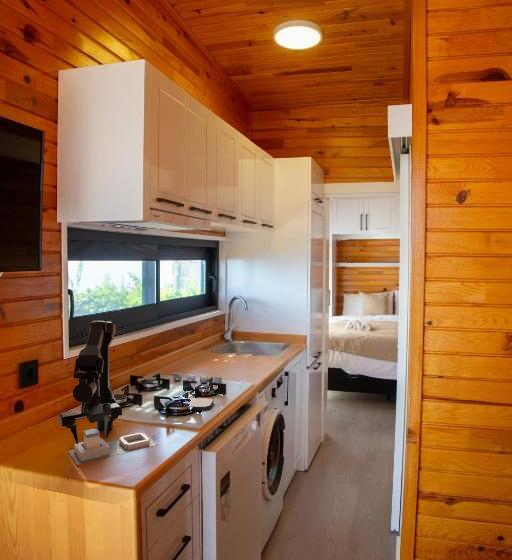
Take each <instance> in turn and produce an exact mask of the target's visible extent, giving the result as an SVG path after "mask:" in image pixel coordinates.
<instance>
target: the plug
mask: <svg viewBox="0 0 512 560" xmlns="http://www.w3.org/2000/svg"><path fill="white" fill-rule="evenodd" d="M94 428H95V427H94ZM94 428H91V429H86V430H83V442H84V449H85V450H88V449H92V448H97V447H100V438H101V435H100V434H101V432H100V430H97V429H96V428H95V429H94Z"/></svg>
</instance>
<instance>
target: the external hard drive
mask: <svg viewBox="0 0 512 560" xmlns="http://www.w3.org/2000/svg"><path fill="white" fill-rule="evenodd" d="M187 398H188V399H190V400H191V401H190V402H189V403H188V404H190V405H189V406H188V407H193V408H195V409H197V410H196V411H199V410H203V411H210V410H211V409H212V407H213V405H214V400H213V399H212V398H206V397H204V398H203V397H202V398H201V397H200V398H198V397H187Z"/></svg>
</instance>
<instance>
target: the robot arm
mask: <svg viewBox="0 0 512 560" xmlns="http://www.w3.org/2000/svg"><path fill="white" fill-rule="evenodd" d="M88 327H89V332H88V337H87V341H86V344H85V347H84V348H82V349H81V350H80V351H79V353H78V356H77V357H76V358H75V363H74V364H75V365H74V370H73V371H74V373H73V379H78V383H77V384H76V385H75V386H74V388H73V390H72V396H73V399H74V400H75V401H77V402H78V403H80V412H78V413H74V412H73V411H72V410H70V411H63V412H60V413H59V414H58V417H57V420H58V421H57V422H58V423H59V425H60V426H61V427H65V428H66V429H69V431H70V433H71V435H72V438H73V440H74V444H75V443H76V444H78V443H79V437H78V431H77V424H76V421H77V420H84V419H87V421H88V423H89V424H94V423H96V427H94V428H93V429H95V428H96V429H97V430H98V431H102V432H104V437H105V438H106V439H107V438H108V436H109V434H110V431H112V430H113V428H114V422H115V420H117V419H119V416H122V415H123V408H122V406H120V405H119V404H118V401H117V399H116V397H115V392H114V391H113V389H112V388H111V385H110V382H111V381H110V346H111V344H112V342H113V341H114V339H115V335H116V330H117V329H116V324H115V323H113V322H112V321H104V320H93V321H91V322H90V323H89V325H88Z"/></svg>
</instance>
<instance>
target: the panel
mask: <svg viewBox="0 0 512 560" xmlns="http://www.w3.org/2000/svg"><path fill="white" fill-rule="evenodd" d="M73 444H74V445H73V447H74V449H71V450H68V451H67V454H68V456H69V457H70V459H71V460H72V462H73V463H74V465H75V466H76V467H77V468H79V467H80V466H79V465H80V464H84V463H88V462H93V461H97V460H101V459H105V458H110V457H114V456H117V455H118V456H119V455H122V454H126V453H130V452H135V451H138V450H139V451H140V450H142V449H147V448H152V447H156V446H159V444H158V443H157V442H156V441H155V440H153V439H152V437H150V436H149V435H148V434H146V433H144V432H136V433H132V434H128V435H122V436H120V437H119V439H114V440H110V441H107V442H106V440H104V439H103V437H100V447H97V448H92V449H88V450H85V449H84V441H81V442H78V444H76V443H75V442H74V443H73Z"/></svg>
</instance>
